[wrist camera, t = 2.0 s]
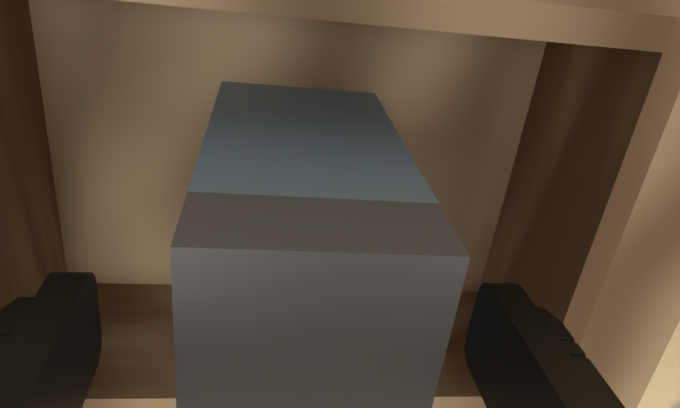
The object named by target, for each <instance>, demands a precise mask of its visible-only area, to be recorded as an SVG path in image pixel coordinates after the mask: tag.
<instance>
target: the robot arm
mask: <svg viewBox="0 0 680 408" xmlns="http://www.w3.org/2000/svg"><path fill="white" fill-rule="evenodd" d="M101 347H102V331H101V321H100V312H99V303H98V293H97V284H96V278H95V275H94V274H93V273H92V272H50V273H49V274H48V275H47V277H46V279H45V280H44V282H43V283H42V285H41V287H40V288H39V290H38V292H37V293H36V295H35V296H34V297H18V298H16V299H15V300H14V301H12V302H11V303H9V304H8V305H7V306H5V307H4V308H2V309H1V310H0V408H82V407H83V404H84V401H85V399H86V396H87V393H88V391H89V388H90V385H91V383H92V380H93V377H94V375H95V372H96V369H97V367H98V364H99V360H100V354H101ZM465 358H466V362H467V366H468V368H469V370H470V373H471V375H472V377H473V379H474V381H475V384H476V386H477V388H478V390H479V392H480V395H481V397H482V399H483V401H484V403H485V406H486V408H625V407H624V405H623V404H622V403H621V401H620V400H619V399H618V397H617V396H616V394H615V393H614V392H613V390H612V389H611V388H610V386H609V385H608V384H607V382H606V381H605V380H604V378H603V377H602V376H601V374H600V373H599V371H598V370H597V369H596V367H595V366H594V365H593V363H592V362H591V361H590V359H589V358H586V354H585V353H584V351H583V350H582V349H581V347H580V346H579V344H578V343H575V339H574V338H573V336H572V335H571V334H570V332H569V331H568V330H567V328H566V327H565V326H564V324H563V323H562V322H561V321H560V320H559V319H557V318H556V317H555V316H553V315H552V314H551V313H549V312H548V311H547V310H545V309H544V308H543V307H536V306H535V305H534V303H533V302H532V301H531V299H530V298H529V296H528V295H527V293H526V292H525V291H524V289H523V288H522V287H521V285H519V284H517V283H483V284H482V285H481V286H480V288H479V290H478V294H477V297H476V301H475V305H474V308H473V312H472V316H471V319H470V323H469V327H468V330H467V334H466V338H465Z"/></svg>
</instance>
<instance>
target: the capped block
mask: <svg viewBox="0 0 680 408" xmlns="http://www.w3.org/2000/svg"><path fill="white" fill-rule="evenodd" d="M170 255H171V281H172V308H173V334H174V360H175V386H176V408H432V406H433V402H434V398H435V394H436V390H437V386H438V382H439V378H440V374H441V370H442V366H443V362H444V359H445V355H446V351H447V347H448V343H449V339H450V335H451V331H452V327H453V323H454V319H455V315H456V312H457V308H458V304H459V300H460V296H461V292H462V288H463V284H464V280H465V276H466V272H467V268H468V265H469V261H470V255H469V254H468V252H467V250H466V248H465V247H464V245H463V243H462V242H461V240H460V238H459V236H458V235H457V233H456V231H455V230H454V228H453V226H452V224H451V223H450V221H449V219H448V218H447V216H446V214H445V212H444V211H443V209H442V207H441V206H440V204H439V202H438V200H437V199H436V197H435V195H434V194H433V192H432V190H431V188H430V187H429V185H428V183H427V182H426V180H425V178H424V176H423V175H422V173H421V171H420V170H419V168H418V166H417V165H416V163H415V161H414V159H413V158H412V156H411V154H410V153H409V151H408V149H407V147H406V146H405V144H404V142H403V141H402V139H401V137H400V135H399V134H398V132H397V130H396V129H395V127H394V125H393V123H392V122H391V120H390V118H389V117H388V115H387V113H386V111H385V110H384V108H383V106H382V105H381V103H380V101H379V99H378V98H377V96H376V94H375V93H369V92H356V91H343V90H330V89H317V88H304V87H291V86H278V85H265V84H252V83H239V82H226V81H222V82H221V85H220V88H219V92H218V95H217V98H216V101H215V104H214V108H213V111H212V114H211V117H210V120H209V124H208V127H207V130H206V133H205V137H204V140H203V143H202V146H201V149H200V153H199V156H198V159H197V162H196V166H195V169H194V172H193V175H192V178H191V182H190V185H189V188H188V191H187V194H186V198H185V201H184V204H183V207H182V211H181V214H180V217H179V220H178V223H177V227H176V230H175V233H174V236H173V240H172V243H171V246H170Z"/></svg>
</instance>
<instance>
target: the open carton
mask: <svg viewBox="0 0 680 408" xmlns="http://www.w3.org/2000/svg"><path fill="white" fill-rule="evenodd" d="M222 81H226V82H239V83H252V84H265V85H278V86H291V87H304V88H317V89H330V90H343V91H356V92H369V93H375V94H376V96H377V98H378V99H379V101H380V103H381V105H382V106H383V108H384V110H385V111H386V113H387V115H388V117H389V118H390V120H391V122H392V123H393V125H394V127H395V129H396V130H397V132H398V134H399V135H400V137H401V139H402V141H403V142H404V144H405V146H406V147H407V149H408V151H409V153H410V154H411V156H412V158H413V159H414V161H415V163H416V165H417V166H418V168H419V170H420V171H421V173H422V175H423V176H424V178H425V180H426V182H427V183H428V185H429V187H430V188H431V190H432V192H433V194H434V195H435V197H436V199H437V200H438V202H439V204H440V206H441V207H442V209H443V211H444V212H445V214H446V216H447V218H448V219H449V221H450V223H451V224H452V226H453V228H454V230H455V231H456V233H457V235H458V236H459V238H460V240H461V242H462V243H463V245H464V247H465V248H466V250H467V252H468V254H469V255H470V261H469V265H468V268H467V272H466V276H465V280H464V284H463V288H462V292H461V296H460V300H459V304H458V308H457V312H456V315H455V319H454V323H453V327H452V331H451V335H450V339H449V343H448V347H447V351H446V355H445V359H444V362H443V366H442V370H441V374H440V378H439V382H438V386H437V390H436V394H435V398H434V402H433V406H432V408H486V406H485V403H484V401H483V399H482V397H481V395H480V392H479V390H478V388H477V386H476V384H475V381H474V379H473V377H472V375H471V373H470V370H469V368H468V366H467V362H466V358H465V338H466V334H467V330H468V327H469V323H470V319H471V316H472V312H473V308H474V305H475V301H476V297H477V294H478V290H479V288H480V286H481V285H482V284H483V283H517V284H519V285H521V287H522V288H523V289H524V291H525V292H526V293H527V295H528V296H529V298H530V299H531V301H532V302H533V303H534V305H535V306H536V307H543V308H544V309H545V310H547V311H548V312H549V313H551V314H552V315H553V316H555V317H556V318H557V319H559V320H560V321H561V322H562V323H563V324H564V326H565V327H566V328H567V330H568V331H569V332H570V334H571V335H572V336H573V338H574V339H575V343H578V344H579V346H580V347H581V349H582V350H583V351H584V353H585V354H586V358H589V359H590V361H591V362H592V363H593V365H594V366H595V367H596V369H597V370H598V371H599V373H600V374H601V376H602V377H603V378H604V380H605V381H606V382H607V384H608V385H609V386H610V388H611V389H612V390H613V392H614V393H615V394H616V396H617V397H618V399H619V400H620V401H621V403H622V404H623V405H624V407H625V408H637V406H638V404H639V402H640V400H641V398H642V396H643V394H644V391H645V389H646V387H647V385H648V383H649V381H650V379H651V377H652V375H653V373H654V371H655V369H656V367H657V365H658V363H659V361H660V359H661V357H662V355H663V353H664V351H665V349H666V347H667V345H668V343H669V341H670V338H671V336H672V334H673V332H674V330H675V328H676V326H677V324H678V322H679V320H680V0H0V310H1V309H2V308H4V307H5V306H7V305H8V304H9V303H11V302H12V301H14V300H15V299H16V298H18V297H34V296H35V295H36V293H37V292H38V290H39V288H40V287H41V285H42V283H43V282H44V280H45V279H46V277H47V275H48V274H49V273H50V272H92V273H93V274H94V275H95V278H96V284H97V293H98V303H99V312H100V321H101V331H102V347H101V354H100V360H99V364H98V367H97V369H96V372H95V375H94V377H93V380H92V383H91V385H90V388H89V391H88V393H87V396H86V399H85V401H84V404H83V407H82V408H176V386H175V360H174V334H173V308H172V281H171V255H170V246H171V243H172V240H173V236H174V233H175V230H176V227H177V223H178V220H179V217H180V214H181V211H182V207H183V204H184V201H185V198H186V194H187V191H188V188H189V185H190V182H191V178H192V175H193V172H194V169H195V166H196V162H197V159H198V156H199V153H200V149H201V146H202V143H203V140H204V137H205V133H206V130H207V127H208V124H209V120H210V117H211V114H212V111H213V108H214V104H215V101H216V98H217V95H218V92H219V88H220V85H221V82H222Z"/></svg>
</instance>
